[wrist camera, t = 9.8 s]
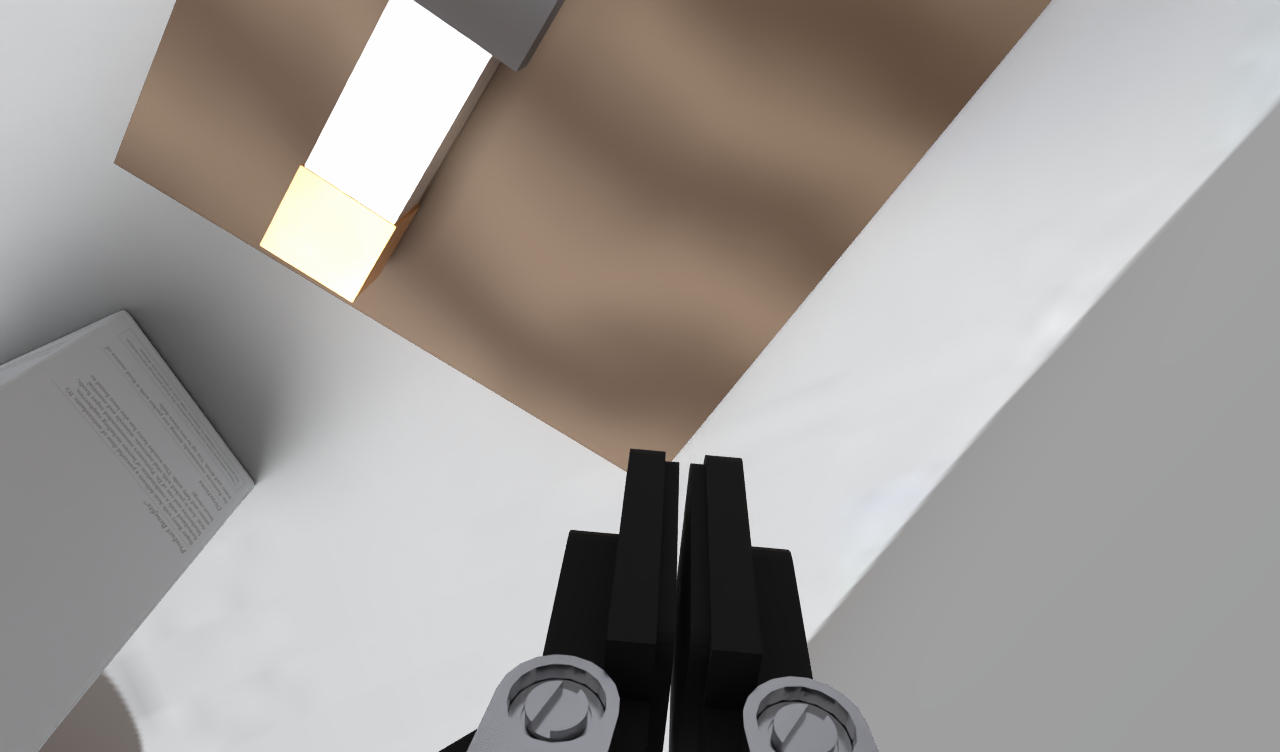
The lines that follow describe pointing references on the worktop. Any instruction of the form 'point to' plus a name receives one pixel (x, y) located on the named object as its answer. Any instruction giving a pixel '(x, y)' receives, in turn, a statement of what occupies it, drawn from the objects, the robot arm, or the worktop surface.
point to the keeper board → (590, 175)
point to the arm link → (379, 149)
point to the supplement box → (94, 511)
